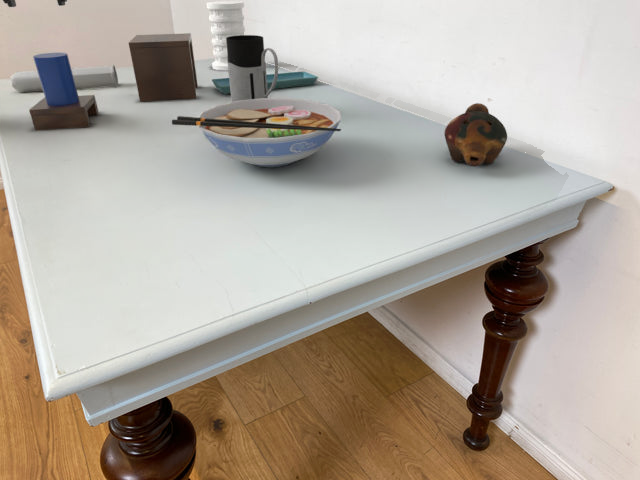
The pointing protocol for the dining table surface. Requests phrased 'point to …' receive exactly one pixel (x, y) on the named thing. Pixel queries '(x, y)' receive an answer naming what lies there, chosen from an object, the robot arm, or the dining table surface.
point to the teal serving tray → (282, 81)
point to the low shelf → (64, 114)
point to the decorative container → (224, 28)
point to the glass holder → (248, 67)
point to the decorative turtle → (475, 136)
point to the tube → (82, 76)
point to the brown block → (164, 66)
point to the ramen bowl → (267, 129)
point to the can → (56, 78)
